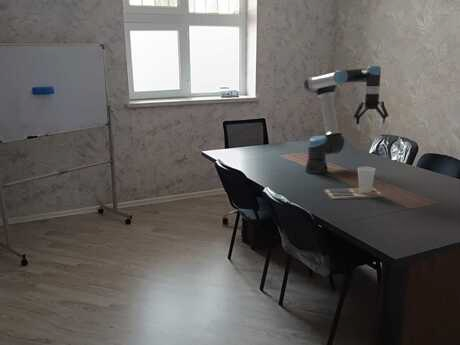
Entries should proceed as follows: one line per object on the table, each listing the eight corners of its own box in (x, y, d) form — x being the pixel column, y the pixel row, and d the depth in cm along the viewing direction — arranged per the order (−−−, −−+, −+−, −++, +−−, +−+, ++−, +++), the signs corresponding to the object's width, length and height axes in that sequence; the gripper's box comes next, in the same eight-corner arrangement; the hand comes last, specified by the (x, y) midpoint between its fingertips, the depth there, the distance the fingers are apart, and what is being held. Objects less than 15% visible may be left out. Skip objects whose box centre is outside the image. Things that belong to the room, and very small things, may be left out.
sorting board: (324, 190, 251) (324, 188, 251) (372, 188, 253) (373, 186, 253) (331, 199, 237) (331, 197, 236) (383, 196, 239) (383, 194, 238)
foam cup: (362, 194, 239) (363, 171, 236) (353, 189, 248) (354, 167, 245) (377, 192, 242) (378, 170, 238) (368, 187, 250) (369, 166, 247)
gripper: (353, 94, 248) (351, 131, 254) (396, 93, 249) (393, 129, 255) (349, 93, 255) (347, 128, 261) (390, 92, 256) (387, 127, 262)
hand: (370, 129), depth 258 cm, fingers open, 13 cm apart
